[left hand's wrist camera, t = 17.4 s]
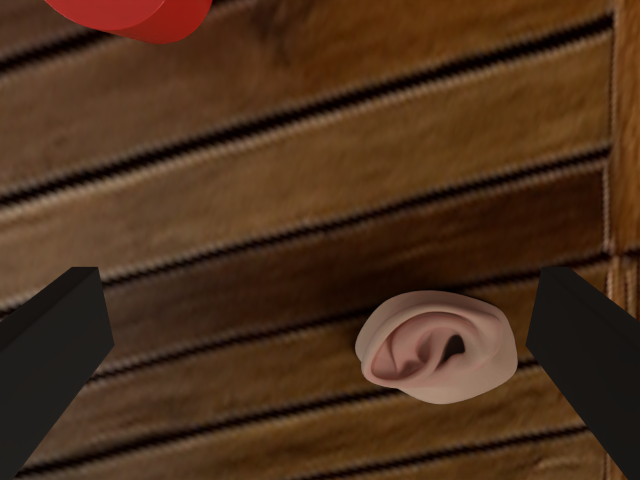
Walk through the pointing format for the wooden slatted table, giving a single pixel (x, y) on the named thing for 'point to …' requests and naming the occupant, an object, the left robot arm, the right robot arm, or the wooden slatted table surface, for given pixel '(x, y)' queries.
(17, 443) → the left robot arm
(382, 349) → the anatomical model
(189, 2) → the can
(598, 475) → the wooden slatted table surface
